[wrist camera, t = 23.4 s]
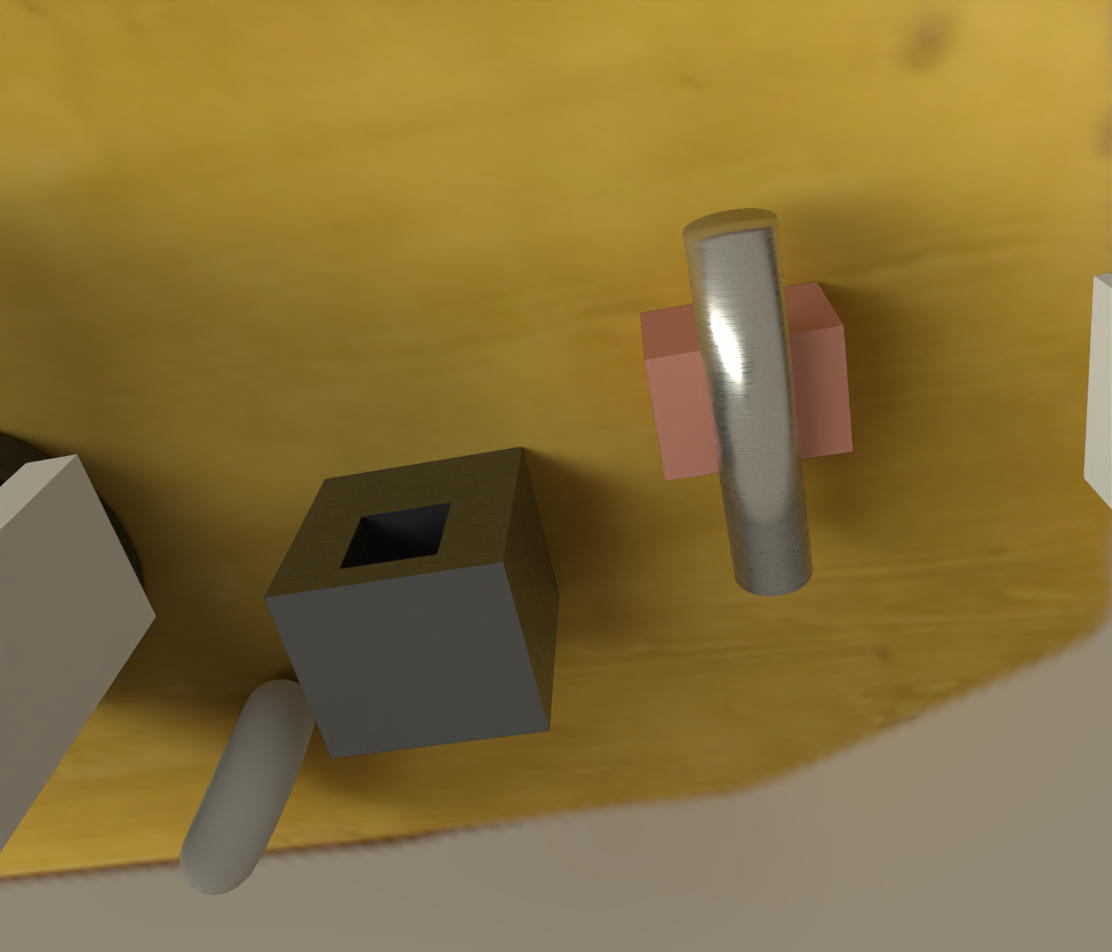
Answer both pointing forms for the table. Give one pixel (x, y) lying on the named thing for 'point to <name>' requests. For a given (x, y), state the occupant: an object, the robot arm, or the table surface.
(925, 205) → the table surface
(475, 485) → the block with square hole
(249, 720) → the donut
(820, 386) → the v block
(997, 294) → the table surface
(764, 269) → the axle
